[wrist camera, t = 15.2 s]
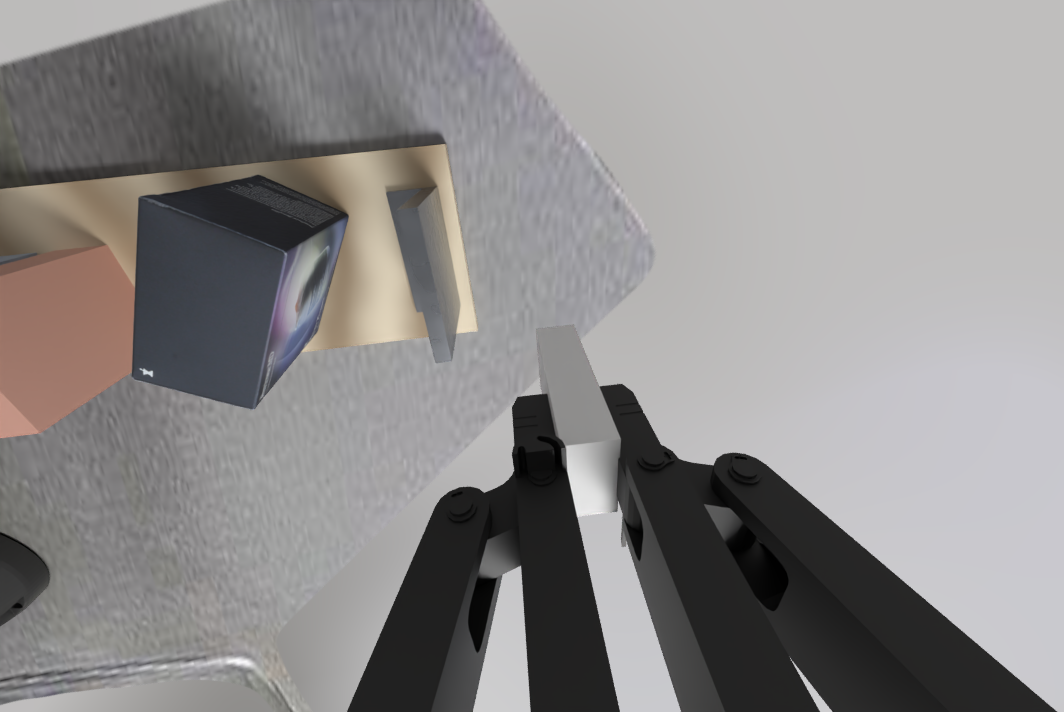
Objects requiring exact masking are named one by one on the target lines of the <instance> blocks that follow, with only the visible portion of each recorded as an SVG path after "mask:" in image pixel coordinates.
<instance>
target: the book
mask: <svg viewBox="0 0 1064 712" xmlns="http://www.w3.org/2000/svg"><path fill="white" fill-rule="evenodd" d="M134 300H135V287H134V286H133V284H132V283H131V281H130V279H129V278H128V276H127V275H126V273H125V272H124V270H123V269H122V267H121V265H120V264H119V262H118V261H117V259H116V258H115V256H114V254H113V253H112V251H111V250H110V248H109V247H108V245H101V246H92V247H83V248H73V249H64V250H55V251H51V252H48V253H44V254H40V255H36V256H33V257H29V258H25V259H22V260H18V261H14V262H11V263H7V264H3V265H0V438H6V437H14V436H21V435H29V434H37V433H41V432H43V431H44V430H46V429H47V428H49V427H50V426H52V425H53V424H55V423H56V422H58V421H59V420H61V419H62V418H64V417H65V416H67V415H68V414H70V413H71V412H73V411H74V410H76V409H77V408H79V407H80V406H82V405H83V404H84V403H86V402H87V401H89V400H90V399H92V398H93V397H95V396H96V395H98V394H99V393H101V392H102V391H104V390H105V389H107V388H108V387H110V386H111V385H113V384H114V383H116V382H117V381H119V380H120V379H122V378H123V377H125V376H126V375H128V374H129V373H131V372H132V352H133V322H134Z"/></svg>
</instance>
